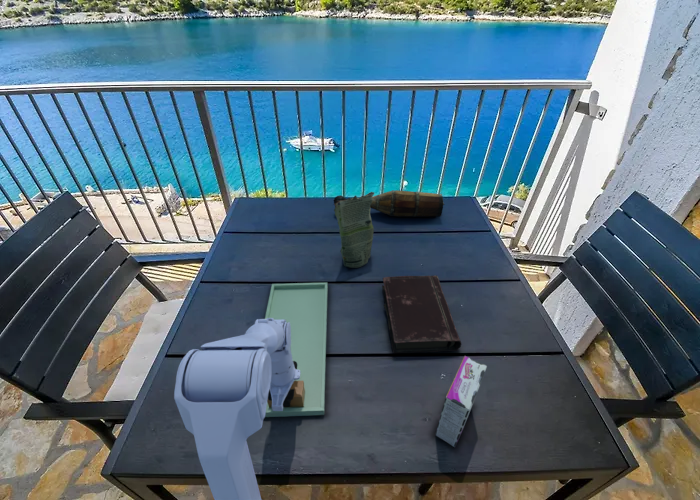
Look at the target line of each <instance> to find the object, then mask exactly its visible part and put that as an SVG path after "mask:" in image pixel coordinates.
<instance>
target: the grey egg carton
mask: <svg viewBox="0 0 700 500" xmlns="http://www.w3.org/2000/svg"><path fill="white" fill-rule="evenodd" d="M487 367H488V366H487V365H486V364H484V363H481V362H479V361H477V360H474V359H472V358H471V357H469V356H466V355H464V356H463V358H462V360H461V363H460V365H459V367H458V369H457V371H456V374H455V376H454V378H453V380H452V382H451V385H450V387H449V389H448V391H447V393H446V396H445V399H444V403H443V405H442V409H441V412H440V416H439V420H438V424H437V428H436V430H435V434H434V435H435V437H437V438H438V439H440V440H442V441H444V442H446V443H447V444H448V445H450V446H452V447H454V448H456V446H457V444H458V442H459V439H460V437H461V435H462V433H463V430H464V428H465V425H466V423H467V420H468V418H469V415H470V412H471V410H472V407H473V405H474V403H475V399H476V397H477V395H478V392H479V389H480V387H481V385H482V381H483V379H484V376H485V373H486V370H487Z"/></svg>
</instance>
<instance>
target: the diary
mask: <svg viewBox="0 0 700 500" xmlns="http://www.w3.org/2000/svg"><path fill="white" fill-rule="evenodd" d="M382 280H383V285H382V294H383V300H384V304H383V307H384V310H385V312H386V317H387V325H388V331H389V338H390V343H391V348H392V353H393V354H412V353H434V352H436V353H437V352H457V351H459V350H460V349H461V347H462V342H461V338H460V336H459V333H458V331H457V328H456V325H455V322H454V320H453V317H452V313H451V310H450V308H449V304H448V302H447V299H446V297H445V294H444V291H443V288H442V285H441V282H440V279H439V276H438V275H398V276H385V277H382Z"/></svg>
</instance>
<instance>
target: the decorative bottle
mask: <svg viewBox="0 0 700 500" xmlns="http://www.w3.org/2000/svg"><path fill="white" fill-rule="evenodd" d="M352 198H353V197H347V198H346V197H345V196H344V195H337V196H335V197H334V198H333V204H332V206H333V205H334V204H336V203H338V202H339V201H342V200H351V199H352ZM359 198H360V197H357V199H359ZM444 205H446V204H445V202H444V196H443V193H433V192H424V191H410V190H409V191H408V190H398V189H397V190H394V189H393V190H392V189H391V191H385V192H383V193H379V194H377V195H373V199H372V203H371V205H370V209H371V210H372V209H373V210H375V211H378V212H380V213H382V214H385V215H387V216H390V217H416V218H417V217H422V218H423V217H424V218H425V217H441V216H442V215H443V210H444ZM334 206H335V205H334Z"/></svg>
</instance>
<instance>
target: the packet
mask: <svg viewBox="0 0 700 500" xmlns="http://www.w3.org/2000/svg"><path fill="white" fill-rule="evenodd" d="M290 389H295V390H294V397H293V400H291V403H290V407H304V397H305V387H304V381H294V382H293V384H292V386H291V388H290ZM267 402H268V406H269V408H271V407H272V401H270V400H267Z"/></svg>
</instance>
